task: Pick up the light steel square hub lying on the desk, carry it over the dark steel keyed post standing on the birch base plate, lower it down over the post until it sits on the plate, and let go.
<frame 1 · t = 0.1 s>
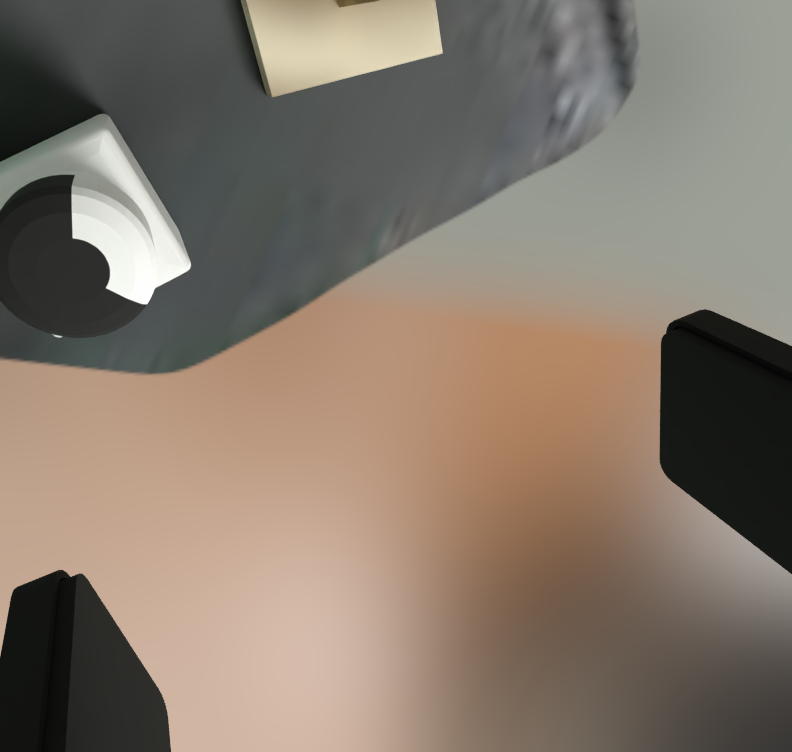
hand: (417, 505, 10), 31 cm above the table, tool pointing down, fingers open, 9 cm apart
medicine bottle: (84, 205, 35), on the table
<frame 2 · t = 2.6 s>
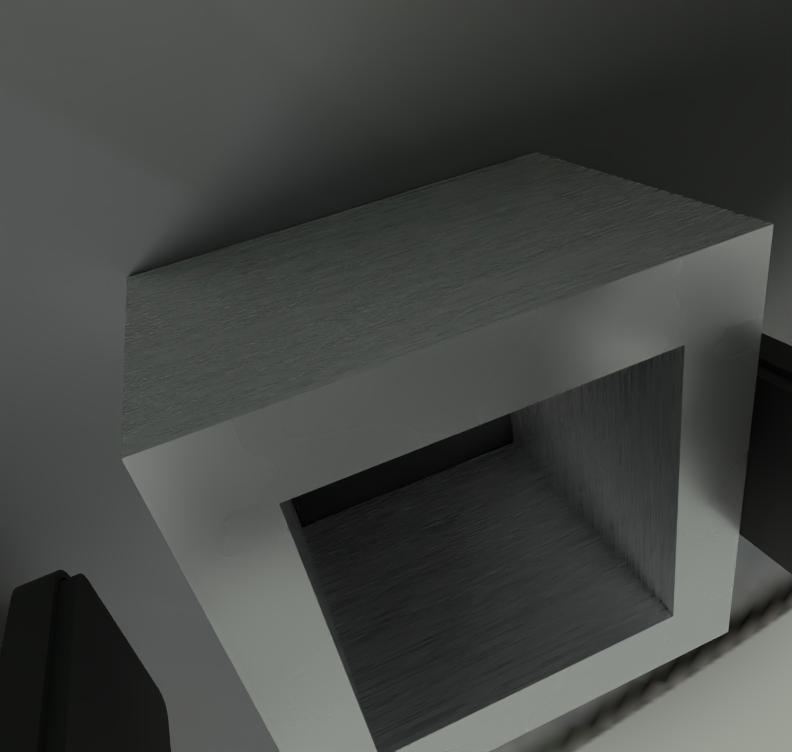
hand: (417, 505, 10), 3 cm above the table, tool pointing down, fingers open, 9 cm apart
hub: (387, 388, 12), on the table
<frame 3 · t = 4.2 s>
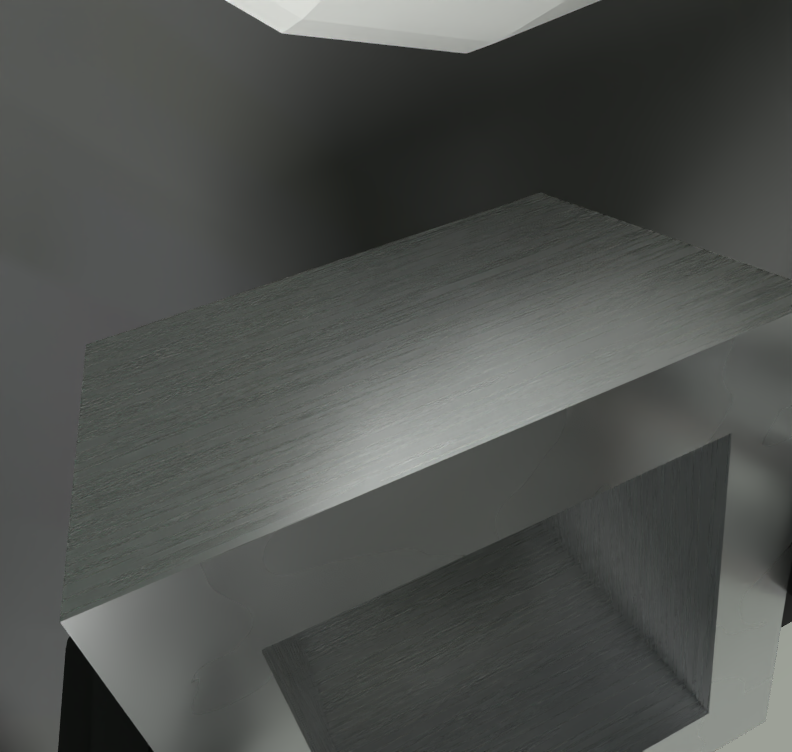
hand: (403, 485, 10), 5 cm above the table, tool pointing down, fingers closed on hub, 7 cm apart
hub: (382, 450, 11), point 4 cm above the table, touching gripper
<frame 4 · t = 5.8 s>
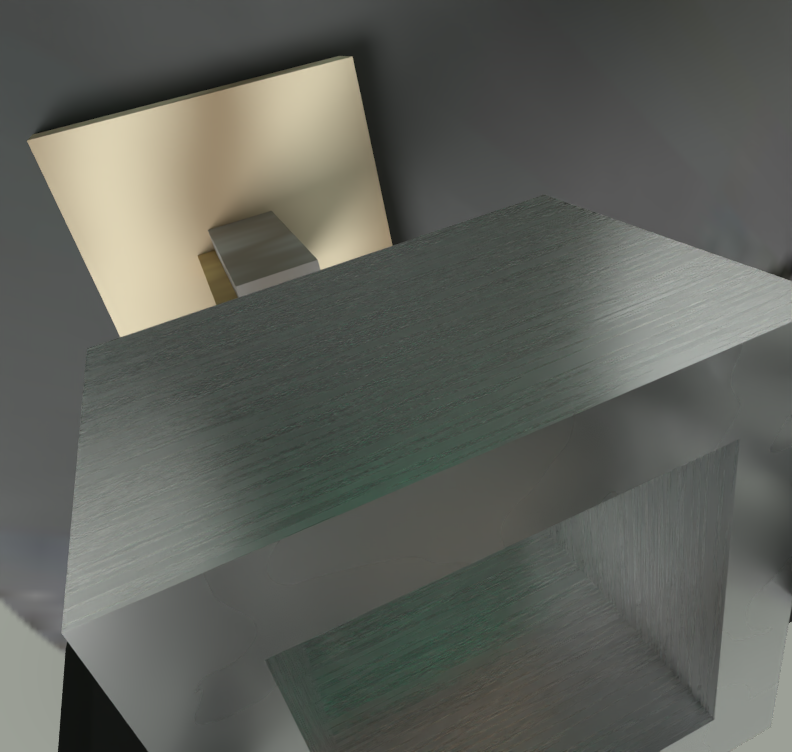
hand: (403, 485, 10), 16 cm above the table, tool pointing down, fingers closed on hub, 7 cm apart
post block: (243, 240, 23), on the table
hub: (384, 453, 11), point 15 cm above the table, touching gripper
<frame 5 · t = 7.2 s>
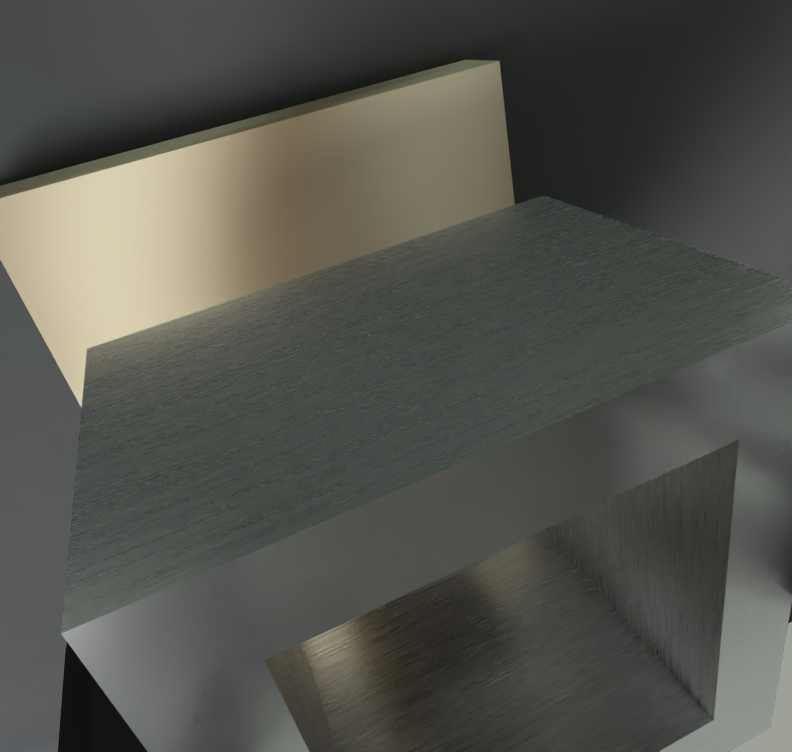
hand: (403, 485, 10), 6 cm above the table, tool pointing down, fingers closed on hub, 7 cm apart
post block: (310, 334, 16), on the table
hub: (384, 454, 11), point 5 cm above the table, touching gripper
when the fingers open (3 cm above the table, at t = 8.4 s): hub stays where it is, resting on post block.
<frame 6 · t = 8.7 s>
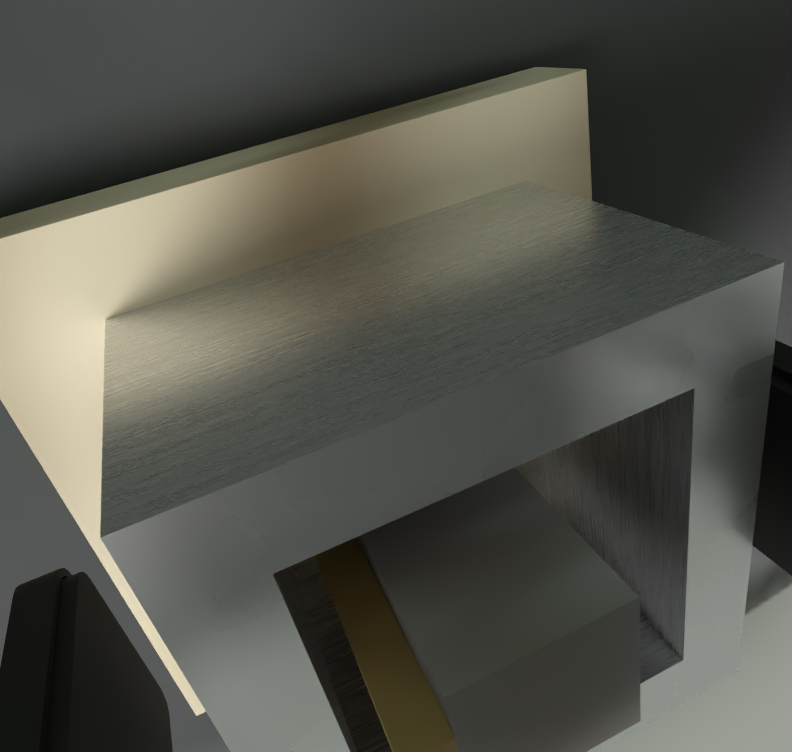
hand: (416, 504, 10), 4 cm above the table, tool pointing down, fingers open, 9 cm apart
post block: (343, 395, 13), on the table
hub: (380, 424, 12), point 1 cm above the table, touching post block
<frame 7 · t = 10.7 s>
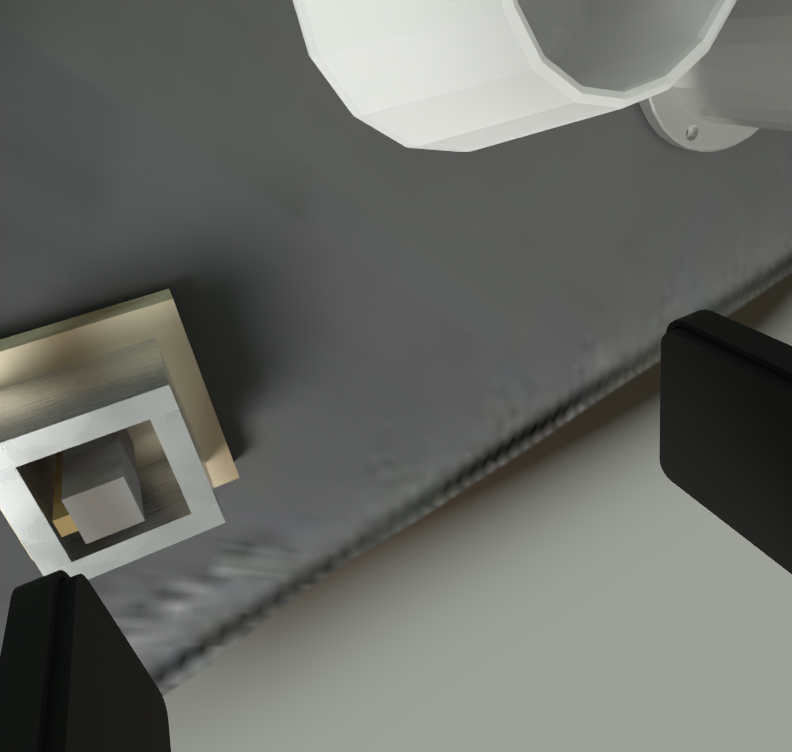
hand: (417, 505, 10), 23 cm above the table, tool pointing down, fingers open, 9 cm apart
post block: (98, 418, 30), on the table
hub: (105, 431, 29), point 1 cm above the table, touching post block
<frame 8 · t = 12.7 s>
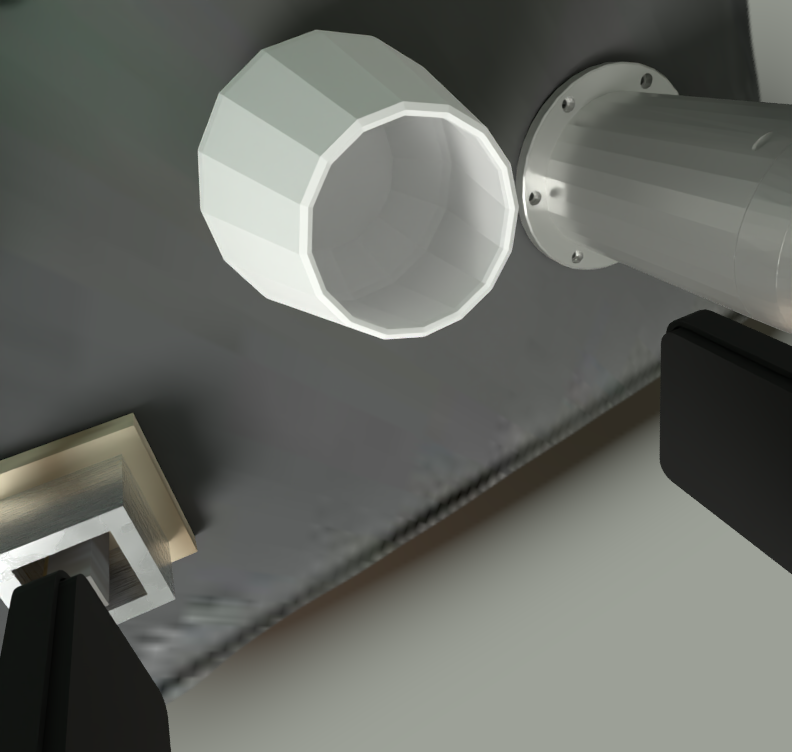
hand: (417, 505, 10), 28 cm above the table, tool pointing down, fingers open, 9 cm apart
post block: (82, 510, 39), on the table
cup: (315, 169, 36), on the table
hub: (86, 523, 38), point 1 cm above the table, touching post block
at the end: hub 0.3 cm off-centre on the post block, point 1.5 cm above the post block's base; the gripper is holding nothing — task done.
